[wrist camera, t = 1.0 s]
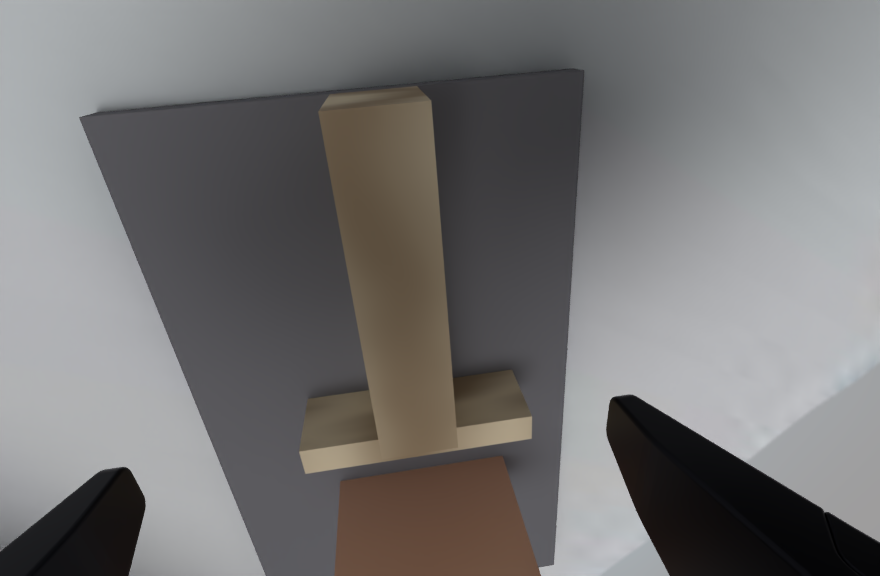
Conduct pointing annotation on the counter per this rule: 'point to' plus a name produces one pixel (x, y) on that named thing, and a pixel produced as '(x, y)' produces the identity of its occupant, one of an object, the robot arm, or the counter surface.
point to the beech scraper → (398, 298)
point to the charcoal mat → (327, 283)
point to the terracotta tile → (433, 523)
